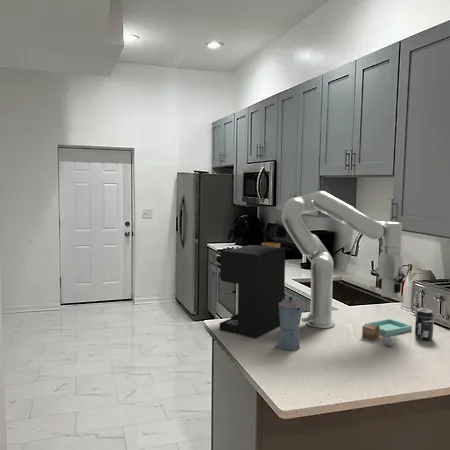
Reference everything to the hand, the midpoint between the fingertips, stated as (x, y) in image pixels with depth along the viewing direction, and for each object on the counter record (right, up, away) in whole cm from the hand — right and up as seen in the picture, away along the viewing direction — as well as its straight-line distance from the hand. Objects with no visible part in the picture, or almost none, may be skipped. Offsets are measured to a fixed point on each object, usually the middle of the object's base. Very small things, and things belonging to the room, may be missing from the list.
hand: (389, 290), depth 200 cm
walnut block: (-11, -18, -9) cm, 23 cm away
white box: (0, -3, 0) cm, 3 cm away
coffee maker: (-58, -17, +5) cm, 61 cm away
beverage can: (+11, -19, -9) cm, 24 cm away
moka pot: (-47, -19, -21) cm, 55 cm away
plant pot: (-35, -2, +170) cm, 174 cm away
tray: (0, -17, +2) cm, 18 cm away
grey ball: (-7, -19, -18) cm, 27 cm away
